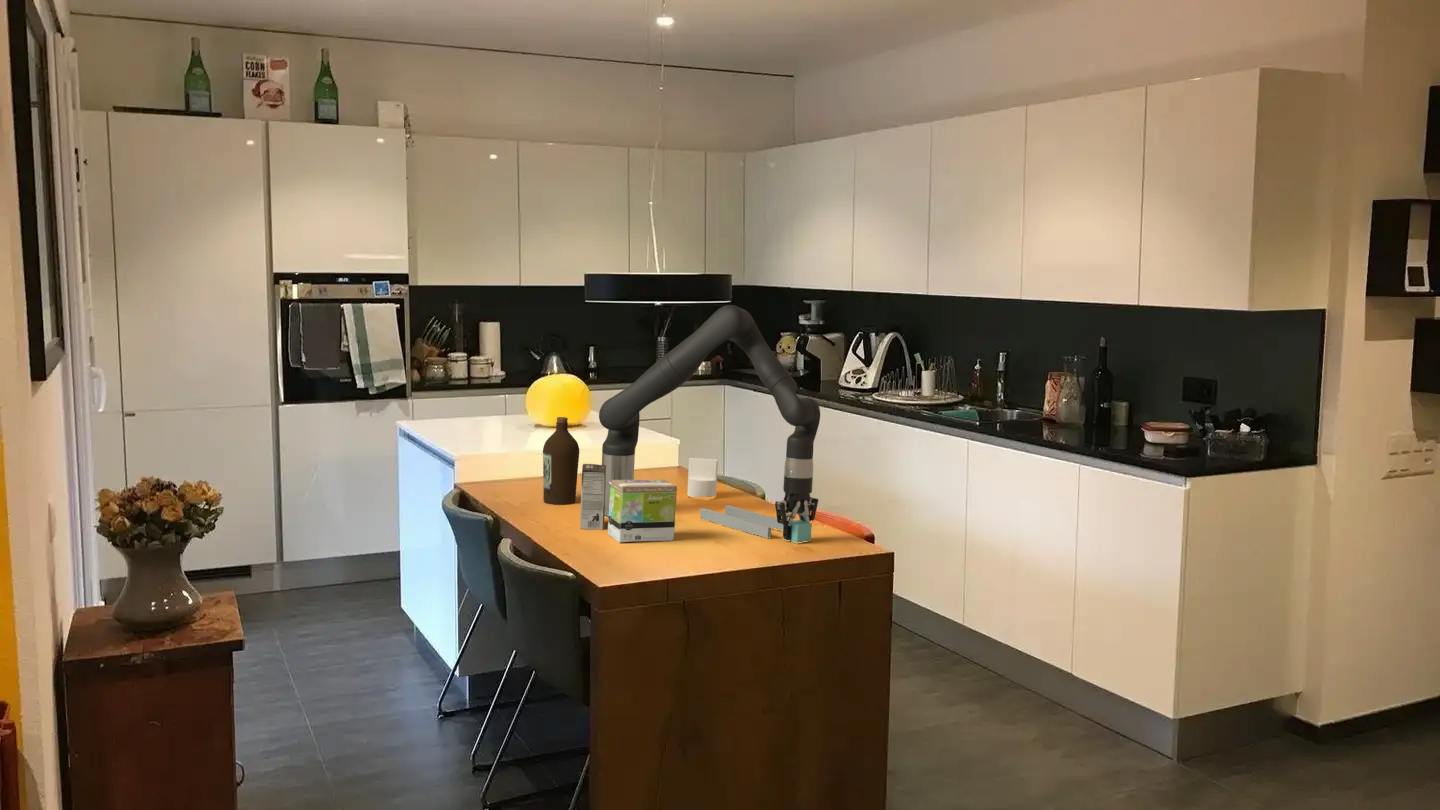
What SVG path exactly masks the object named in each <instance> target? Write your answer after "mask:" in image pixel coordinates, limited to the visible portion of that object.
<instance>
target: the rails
mask: <svg viewBox="0 0 1440 810" xmlns="http://www.w3.org/2000/svg"><path fill="white" fill-rule="evenodd" d="M724 507H725V508H724V512H723V513H722V512H719V511H714V510H712V509H708V508H705V507H704V508H700V510H699V511H700V513H699V514H700V515H699V519H700V518H701V519H700V520H702V519H704V520H703V521H705V520H708V521H707V522H709V521H711V522H710V523H712V522H714V523H713V524H715V523H718V524H717V525H719V524H721V525H720V526H722V525H724V526H723V527H726V526H728V527H727V528H729V527H731V528H730V529H732V528H734V529H733V530H736V529H738V530H737V531H739V530H741V531H740V532H743V531H744V532H743V533H746V532H748V533H747V534H749V533H751V534H750V535H753V534H755V535H754V536H756V535H759V536H758V537H760V536H762V537H761V538H763V537H766V538H769V537H771V538H772V529H771V527H772V528H776V529H780V530H783V524H781V523H778V522H777V517H774V516H770V515H766V514H762V513H759V512H755V511H752V510H748V509H745V508H741V507H736V506H733V505H729V504H728V505H725V506H724ZM766 538H765V539H766Z"/></svg>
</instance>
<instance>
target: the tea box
mask: <svg viewBox="0 0 1440 810" xmlns="http://www.w3.org/2000/svg"><path fill="white" fill-rule="evenodd" d="M677 492H678V487H677V485H675V484H673V483H671V482H670V481H667V480H666V479H664V478H663V479H661V478H660V479H659V478H658V479H634V480H611V486H610V502H609V516H608V521H607V522H608V523H607V535H608V536H609V537H610V538H612V539H614V541H616V542H617V543H619V544H620V543H629V542H631V543H632V542H634V543H635V542H672V541H674V539H675V529H676V527H675V526H676V508H677Z"/></svg>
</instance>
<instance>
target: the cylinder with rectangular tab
mask: <svg viewBox="0 0 1440 810" xmlns="http://www.w3.org/2000/svg"><path fill="white" fill-rule="evenodd" d="M718 463H719V460H718V459H717V458H702V457H689V458H688V469H687V471H688V472H687V473H688V475H687V476H688V477H687V492H686V493H687V495H688V496H691V497H712V496H716V497H717V488H718V487H717V485H718V469H719V468H718V467H719V466H718V465H719V464H718ZM687 495H686V496H687Z"/></svg>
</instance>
